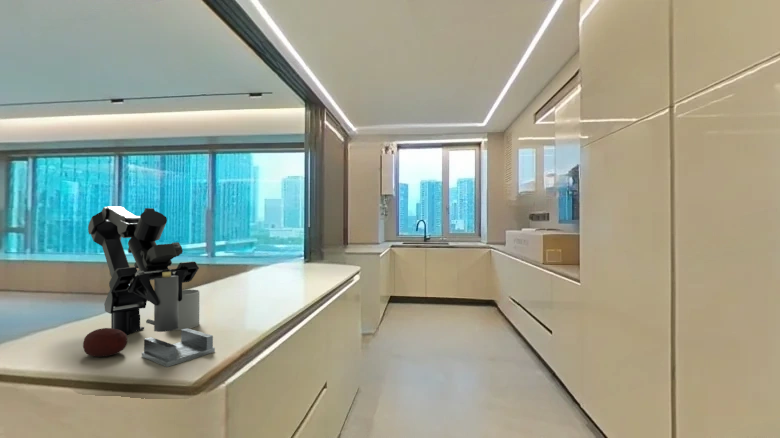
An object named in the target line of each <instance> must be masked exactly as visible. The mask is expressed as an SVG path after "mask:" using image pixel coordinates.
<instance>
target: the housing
mask: <svg viewBox="0 0 780 438" xmlns="http://www.w3.org/2000/svg"><path fill="white" fill-rule="evenodd" d="M180 334H181V335H180V341H179V342H175V343H170V342H167V341H164V340H160V339H158V338H155V337H152V336H151V337H146V338H143V341H144V342H143V346H144V347H143V351H142V352H141V358H143V359H146V360H148V361H151V362H152V363H153V362H154V363H155V364H158V365H160V366H163V367H164V368H165V367H166V368H169V367H172V366H174V365H175V366H176V365H178V364H181V363H184V362H187V361H191V360H193V359H196V358H200V357H203V356H205V355H206V356H207V355H210V354H213V353H215V352H216V348H215V346H213V345H214V343H213V342H214V341H213V340H214V335H212V334H208V333H206V332H202V331H198V330H195V329H192V328H189V329H188V328H186V329H182V330H180ZM212 352H213V353H212Z"/></svg>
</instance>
